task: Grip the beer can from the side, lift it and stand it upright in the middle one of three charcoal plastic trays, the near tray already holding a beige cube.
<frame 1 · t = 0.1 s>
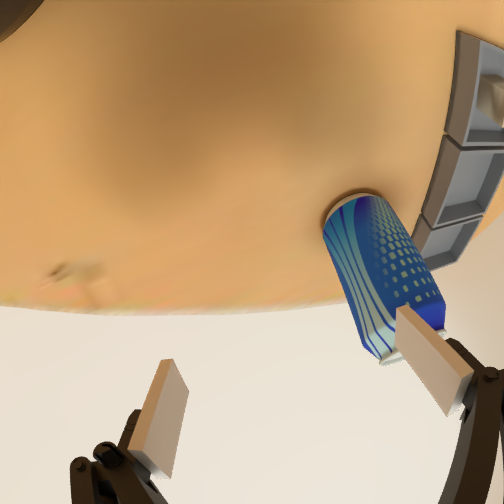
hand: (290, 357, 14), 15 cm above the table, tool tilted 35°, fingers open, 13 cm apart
beige cube: (488, 90, 15), point 1 cm above the table, touching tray
beer can: (353, 215, 29), on the table
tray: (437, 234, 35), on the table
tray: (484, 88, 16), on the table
tray middle: (462, 172, 25), on the table
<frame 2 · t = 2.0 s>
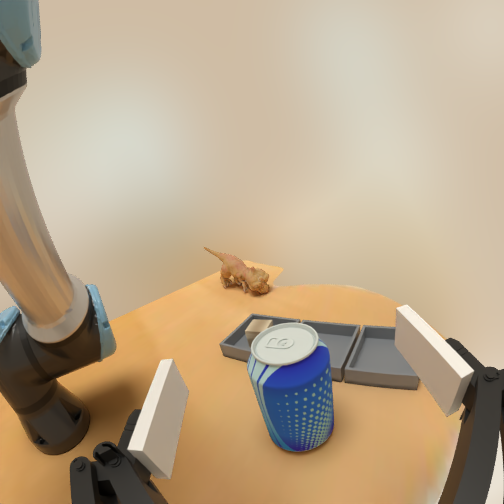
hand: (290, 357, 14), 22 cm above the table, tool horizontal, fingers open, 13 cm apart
beige cube: (262, 342, 51), point 1 cm above the table, touching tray
beer can: (302, 431, 30), on the table
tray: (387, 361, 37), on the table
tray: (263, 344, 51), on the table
tray middle: (321, 354, 44), on the table
toy: (244, 288, 80), on the table
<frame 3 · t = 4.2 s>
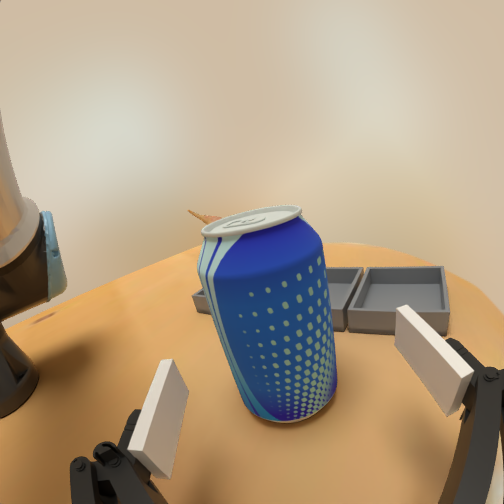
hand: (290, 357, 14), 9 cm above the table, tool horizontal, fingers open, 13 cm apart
beer can: (291, 395, 22), on the table
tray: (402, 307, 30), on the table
tray middle: (316, 304, 37), on the table
toy: (230, 253, 72), on the table
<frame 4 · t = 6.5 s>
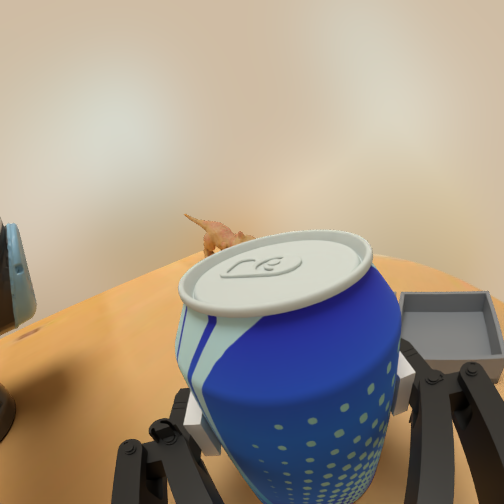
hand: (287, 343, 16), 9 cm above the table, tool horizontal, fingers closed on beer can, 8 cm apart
beer can: (314, 474, 14), on the table, touching gripper
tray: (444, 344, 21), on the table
toy: (232, 264, 64), on the table
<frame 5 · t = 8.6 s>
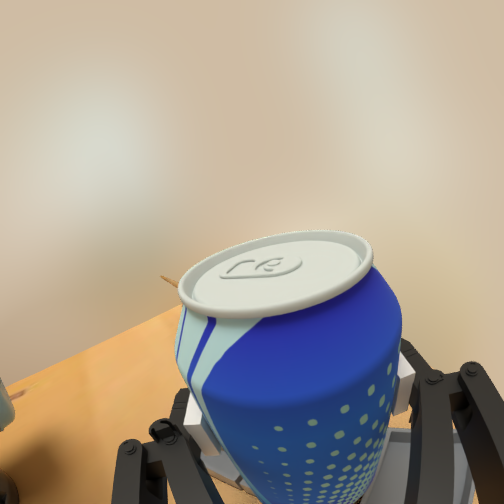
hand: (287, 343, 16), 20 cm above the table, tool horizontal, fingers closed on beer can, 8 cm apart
beer can: (314, 474, 14), point 11 cm above the table, touching gripper
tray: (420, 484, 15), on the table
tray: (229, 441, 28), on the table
tray middle: (316, 470, 22), on the table
when the fingers open (11 cm above the table, at t = 11.1 s): beer can drops 1 cm, resting on tray middle.
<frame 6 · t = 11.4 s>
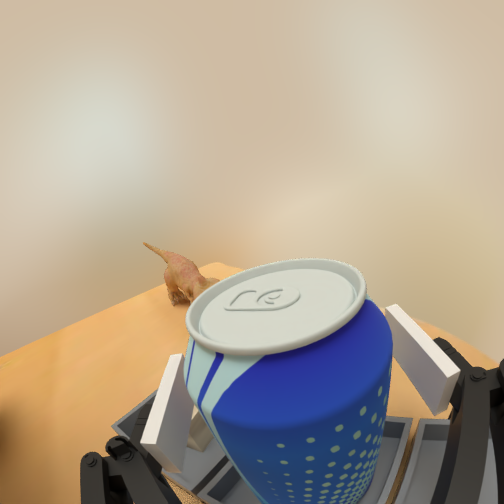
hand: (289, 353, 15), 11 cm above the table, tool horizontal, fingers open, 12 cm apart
beige cube: (195, 431, 21), point 1 cm above the table, touching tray
beer can: (315, 480, 14), resting on tray middle
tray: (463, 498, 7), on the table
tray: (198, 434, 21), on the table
tray middle: (315, 482, 14), on the table
toy: (199, 308, 49), on the table
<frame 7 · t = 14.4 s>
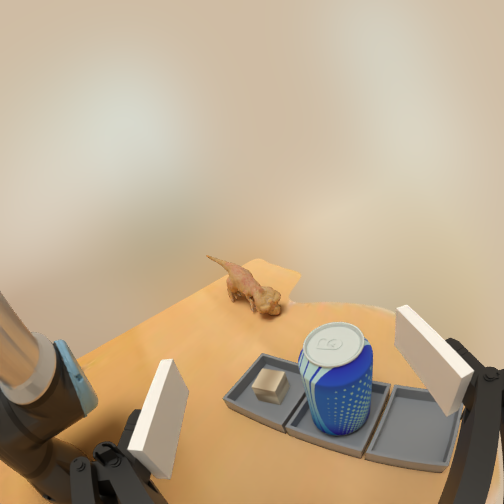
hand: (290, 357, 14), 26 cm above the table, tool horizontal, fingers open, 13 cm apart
beige cube: (274, 393, 40), point 1 cm above the table, touching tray
beer can: (341, 415, 33), resting on tray middle
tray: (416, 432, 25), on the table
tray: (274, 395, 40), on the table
tray middle: (341, 416, 33), on the table
toy: (254, 304, 68), on the table
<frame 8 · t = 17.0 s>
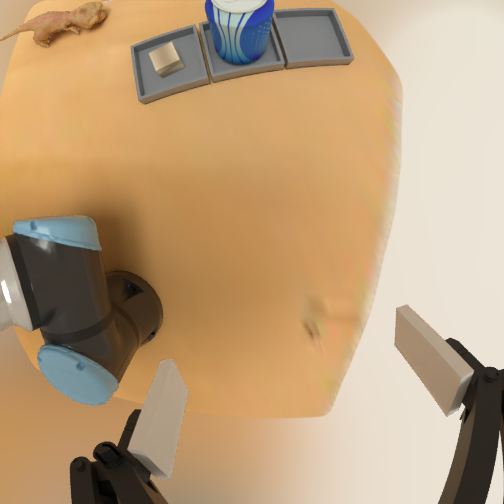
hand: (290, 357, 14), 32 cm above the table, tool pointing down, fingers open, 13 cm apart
beige cube: (170, 64, 36), point 1 cm above the table, touching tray
beer can: (241, 47, 35), resting on tray middle
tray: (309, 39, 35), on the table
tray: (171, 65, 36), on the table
tray middle: (240, 48, 36), on the table
toy: (71, 30, 31), on the table
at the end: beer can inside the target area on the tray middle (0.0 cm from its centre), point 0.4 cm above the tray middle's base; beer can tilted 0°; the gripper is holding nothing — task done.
